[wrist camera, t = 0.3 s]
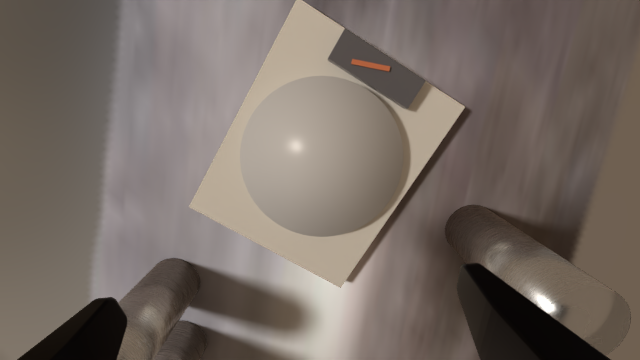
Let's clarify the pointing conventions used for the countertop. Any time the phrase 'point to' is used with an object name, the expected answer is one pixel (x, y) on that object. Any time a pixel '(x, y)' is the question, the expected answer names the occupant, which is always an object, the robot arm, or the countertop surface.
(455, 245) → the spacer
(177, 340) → the spacer
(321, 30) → the scale
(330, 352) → the countertop surface
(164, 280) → the spacer
